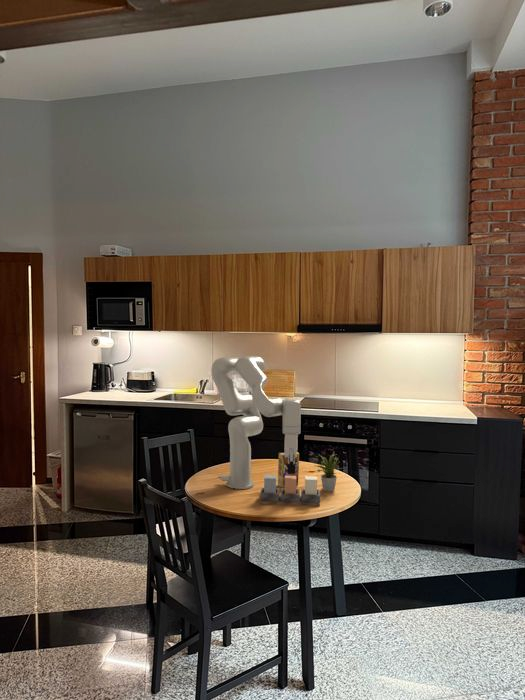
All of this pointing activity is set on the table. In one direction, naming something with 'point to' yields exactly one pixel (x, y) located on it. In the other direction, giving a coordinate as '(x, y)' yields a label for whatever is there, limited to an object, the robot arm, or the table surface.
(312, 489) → the cream button
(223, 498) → the table surface
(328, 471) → the house plant
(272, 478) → the slate button
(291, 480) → the terracotta button
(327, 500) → the table surface
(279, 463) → the candy box
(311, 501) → the button board
